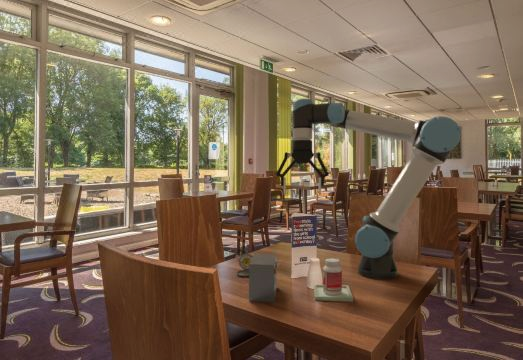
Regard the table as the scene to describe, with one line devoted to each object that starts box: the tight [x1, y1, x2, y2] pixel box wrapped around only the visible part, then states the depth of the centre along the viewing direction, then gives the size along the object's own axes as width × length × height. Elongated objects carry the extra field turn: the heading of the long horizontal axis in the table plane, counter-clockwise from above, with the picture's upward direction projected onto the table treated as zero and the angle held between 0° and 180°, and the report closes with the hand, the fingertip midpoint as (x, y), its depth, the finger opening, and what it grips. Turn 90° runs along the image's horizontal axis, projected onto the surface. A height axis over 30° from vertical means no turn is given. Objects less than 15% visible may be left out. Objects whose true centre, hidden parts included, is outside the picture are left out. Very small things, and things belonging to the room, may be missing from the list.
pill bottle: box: [322, 257, 343, 295], centre depth 124 cm, size 6×6×11 cm
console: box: [248, 253, 279, 303], centre depth 124 cm, size 9×14×12 cm, turn 174°
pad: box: [313, 284, 354, 302], centre depth 124 cm, size 12×12×1 cm
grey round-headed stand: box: [236, 247, 253, 277], centre depth 147 cm, size 8×8×10 cm
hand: (302, 194), depth 145 cm, fingers open, 13 cm apart
